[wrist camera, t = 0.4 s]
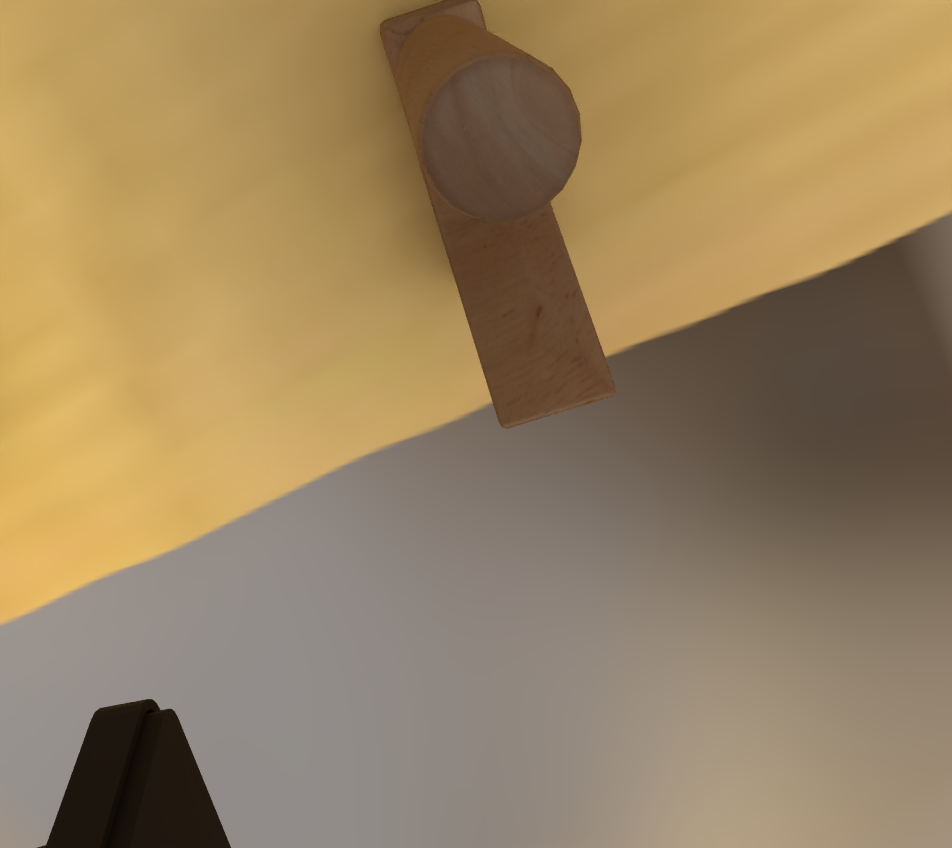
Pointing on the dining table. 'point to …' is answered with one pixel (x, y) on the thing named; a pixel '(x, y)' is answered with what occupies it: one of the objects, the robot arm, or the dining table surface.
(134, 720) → the robot arm
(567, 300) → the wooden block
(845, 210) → the dining table surface
